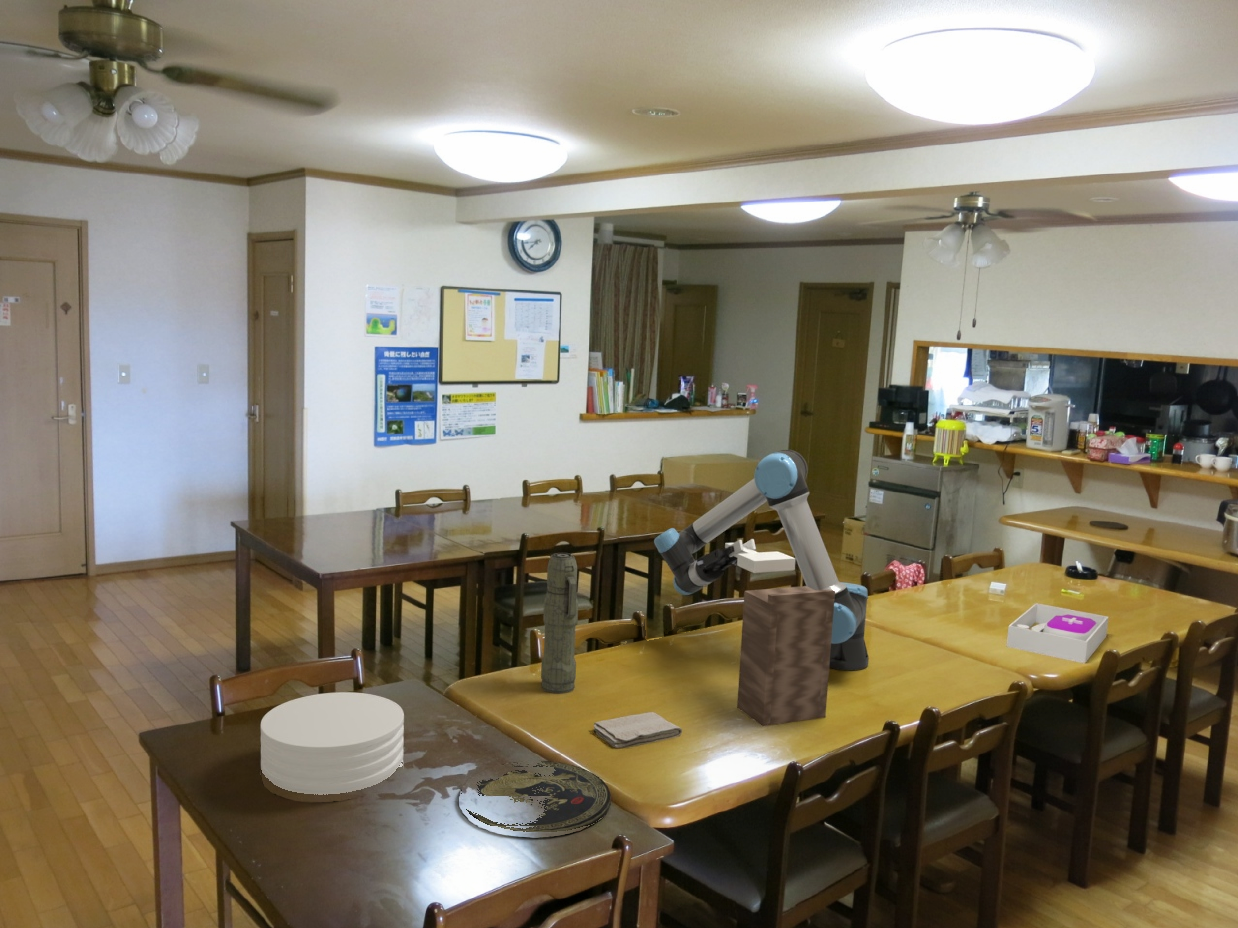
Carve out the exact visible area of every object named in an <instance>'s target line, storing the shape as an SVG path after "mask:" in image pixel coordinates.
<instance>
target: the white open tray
mask: <svg viewBox="0 0 1238 928" xmlns="http://www.w3.org/2000/svg"><path fill="white" fill-rule="evenodd" d="M1034 624H1036V625H1034ZM1108 625H1109V616H1105V615H1101V614H1096V613H1090V612H1086V611H1080V610H1073V609H1069V608H1065V607H1058V606H1054V605H1048V604H1041V603H1036V602H1035V603H1034V604H1033V605H1032V606H1031V607H1030V608H1028V609H1027V610H1026V611H1024V612H1023V613H1022V614H1021V615H1020V616H1019V617H1017V618H1016V619H1015V620H1014V621H1012V622H1011V623H1010V624H1009V625H1008V630H1007V639H1006V647H1007V648H1011V649H1015V650H1016V649H1017V650H1020V651H1024V652H1025V651H1026V652H1029V653H1033V654H1039V655H1044V656H1047V657H1048V656H1049V657H1054V658H1057V659H1062V660H1067V661H1073V662H1075V663H1076V662H1077V663H1080V664H1086V663H1087V661H1088V660H1089V659H1090V658H1091V656H1092V655H1093V654H1094V653H1095V651H1096V650H1097V649H1098V648H1099V647H1100V645H1101V644H1102V643H1103V642H1104V640H1105V639H1106V638H1107V635H1108Z"/></svg>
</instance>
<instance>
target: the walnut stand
mask: <svg viewBox="0 0 1238 928" xmlns="http://www.w3.org/2000/svg"><path fill="white" fill-rule="evenodd" d="M834 599H835V591H834V590H832V589H828V590H814V589H811V588H809V587H807V586H806V585H804V586H802V585H801V586H790V587H789V586H788V587H778V588H777V587H776V588H765V589H751V590H749V589H748V590H744V593H743V611H742V624H741V625H742V627H741V628H742V629H741V643H740V655H739V657H740V658H739V673H738V689H737V702H736V703H737V704H736V708H737V709H738V710H740V711H741V712H742V713H744V714H745V715H747V716H748V717H750V718H751V719H752V720H754V722H756V723H757V724H759V725H760V726H762V727H766V726H773V725H781V724H787V723H794V722H795V723H796V722H802V721H807V720H815V719H817V720H818V719H822V718H826V713H827V702H828V701H827V700H828V689H829V677H830V675H829V674H830V668H829V664H830V651H831V638H832V625H833V612H834Z"/></svg>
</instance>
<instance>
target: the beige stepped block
mask: <svg viewBox="0 0 1238 928" xmlns="http://www.w3.org/2000/svg"><path fill="white" fill-rule="evenodd" d="M733 543H734V542H725V544H724V548H727V547H729V546H730V545H732V544H733ZM743 549H744V550H742V551H741V552H739V553H737V554H736V555H734V557H737V558H738V559H737V566H736V567H740V568H742V569H744V570H745V571H749V572H751V573H753V574H760V573H772V572H774V573H775V572H787V571H795V569H796V558H795V557H792V556H790V555H788V554H786V553H783V552H780V551H765V552H763V551H761V552H759V551H757V550H752V549H749V548H747V547H744V546H743Z"/></svg>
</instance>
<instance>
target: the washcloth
mask: <svg viewBox="0 0 1238 928" xmlns="http://www.w3.org/2000/svg"><path fill="white" fill-rule="evenodd" d="M592 731H593V732H595V733H596V735H597V736H598V737H599V738H601V739H602V740H603V741H605V742H607V744H609V745H610V746H611V747H613V748H614V749H615V748H616V749H625V748H630V747H631V748H633V747H637V746H640V745H645V744H646V745H647V744H650V743H655V742H659V741H664V740H668V739H670V740H671V739H673V738H677V737H680V736H681V735H682V733H683V730H682V728H681V727H680V726H678V725H676V724H674V723H672V722H670V721H667V720H666V719H665V718H664V717H663V716H661V715H660V714H657V713H656V712H655V711H654V712H653V711H651V712H643V713H638V714H630V715H626V716H620V717H615V718H611V719H603V720H600V721H596V722H594V724H593V729H592Z"/></svg>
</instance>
